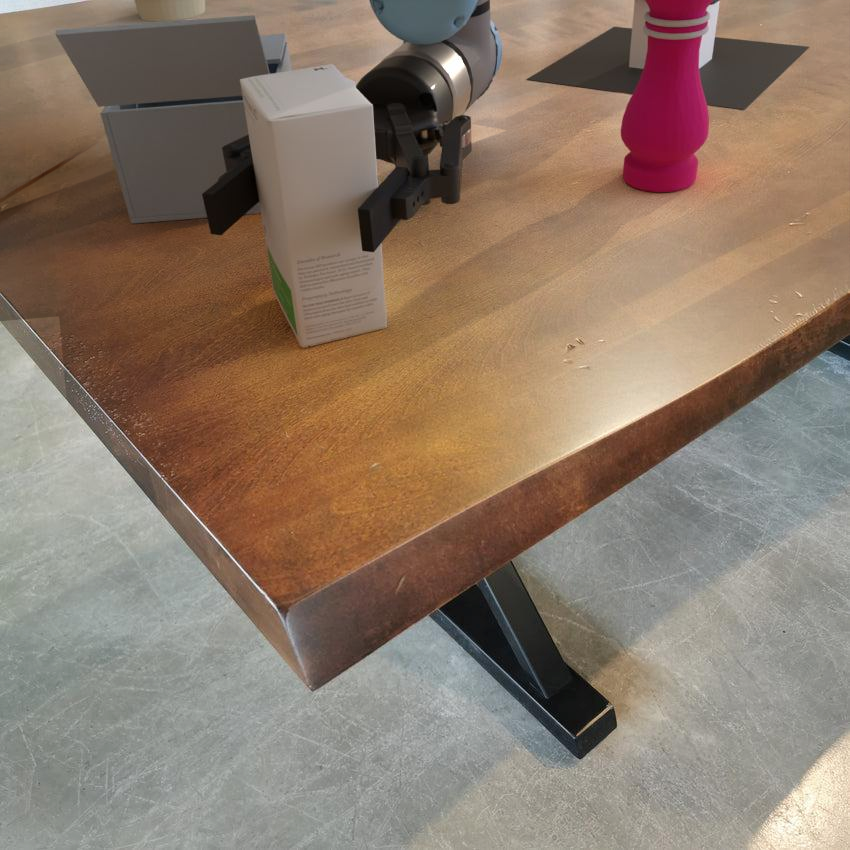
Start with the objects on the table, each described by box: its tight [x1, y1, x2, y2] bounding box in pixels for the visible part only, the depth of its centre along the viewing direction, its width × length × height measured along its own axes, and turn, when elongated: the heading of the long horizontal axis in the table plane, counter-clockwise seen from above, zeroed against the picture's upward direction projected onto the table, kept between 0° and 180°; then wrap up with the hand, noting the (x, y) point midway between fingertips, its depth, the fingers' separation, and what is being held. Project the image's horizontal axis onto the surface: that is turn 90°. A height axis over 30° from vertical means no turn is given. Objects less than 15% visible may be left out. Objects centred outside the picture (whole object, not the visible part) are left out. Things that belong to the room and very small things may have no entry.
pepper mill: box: [620, 0, 713, 193], centre depth 71 cm, size 7×7×20 cm
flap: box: [55, 14, 270, 108], centre depth 66 cm, size 8×14×1 cm
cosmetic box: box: [240, 63, 388, 349], centre depth 58 cm, size 8×7×16 cm
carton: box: [100, 33, 293, 224], centre depth 80 cm, size 17×14×10 cm
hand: (286, 222), depth 54 cm, fingers closed on cosmetic box, 10 cm apart
